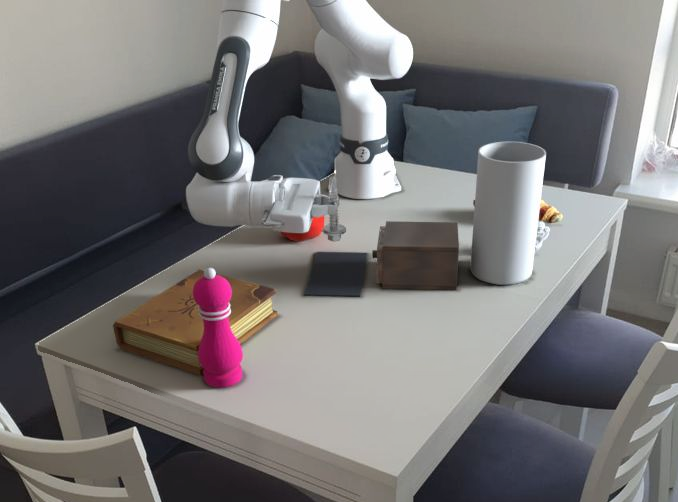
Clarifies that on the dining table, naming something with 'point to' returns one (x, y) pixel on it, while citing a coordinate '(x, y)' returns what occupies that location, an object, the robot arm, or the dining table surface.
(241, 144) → the robot arm
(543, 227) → the frog figurine
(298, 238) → the tomato
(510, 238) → the cylinder vase
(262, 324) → the diary
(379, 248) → the drawer
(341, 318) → the dining table surface
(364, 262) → the mat
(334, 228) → the screw
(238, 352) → the pepper mill
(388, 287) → the cabinet
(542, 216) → the croissant
